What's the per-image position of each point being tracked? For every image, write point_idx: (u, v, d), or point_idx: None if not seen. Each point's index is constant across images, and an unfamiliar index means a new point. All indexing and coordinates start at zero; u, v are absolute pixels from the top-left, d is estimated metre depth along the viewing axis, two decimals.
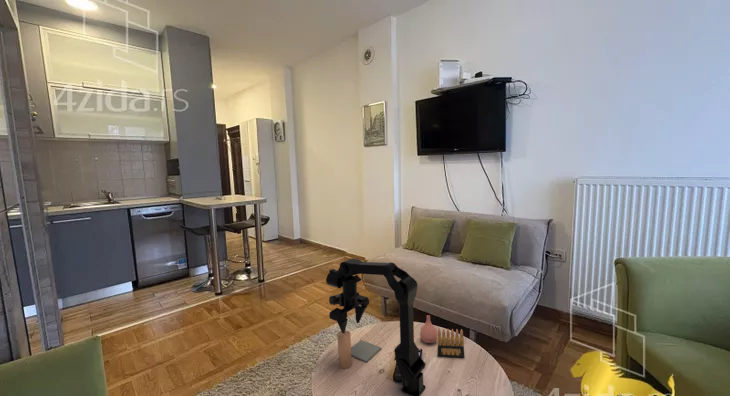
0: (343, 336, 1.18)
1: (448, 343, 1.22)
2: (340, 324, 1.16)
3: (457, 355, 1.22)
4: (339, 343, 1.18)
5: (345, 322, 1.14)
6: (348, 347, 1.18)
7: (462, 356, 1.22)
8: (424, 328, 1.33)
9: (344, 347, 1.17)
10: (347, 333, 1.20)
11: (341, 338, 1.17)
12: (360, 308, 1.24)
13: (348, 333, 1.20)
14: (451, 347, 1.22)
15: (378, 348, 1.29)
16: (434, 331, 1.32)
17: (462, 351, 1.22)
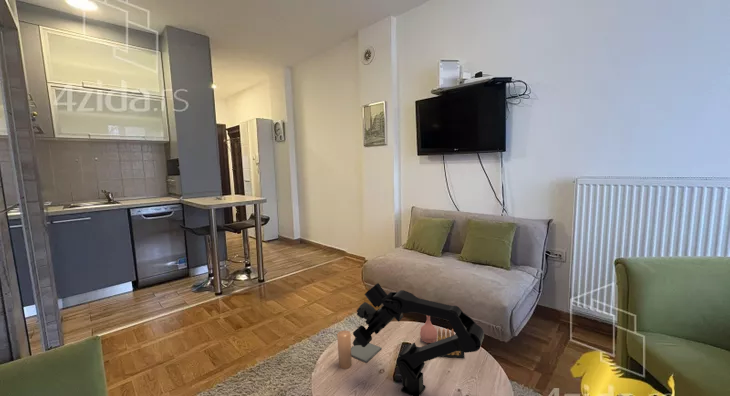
0: (343, 336, 1.18)
1: None
2: (357, 339, 1.09)
3: (457, 355, 1.22)
4: (339, 343, 1.18)
5: None
6: (348, 347, 1.18)
7: (462, 356, 1.22)
8: (424, 328, 1.33)
9: (344, 347, 1.17)
10: (347, 333, 1.20)
11: (341, 338, 1.17)
12: None
13: (348, 333, 1.20)
14: None
15: (378, 348, 1.29)
16: (434, 331, 1.32)
17: None
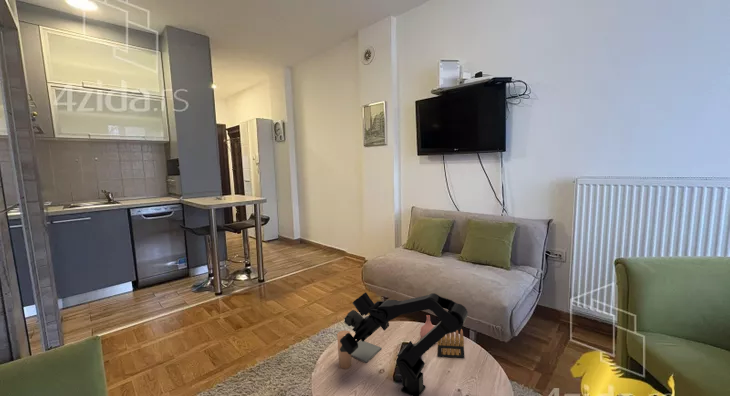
0: (343, 336, 1.18)
1: (448, 343, 1.22)
2: (344, 346, 1.13)
3: (457, 355, 1.22)
4: (339, 343, 1.18)
5: None
6: None
7: (462, 356, 1.22)
8: (424, 328, 1.33)
9: None
10: None
11: None
12: None
13: None
14: (451, 347, 1.22)
15: (378, 348, 1.29)
16: None
17: (462, 351, 1.22)
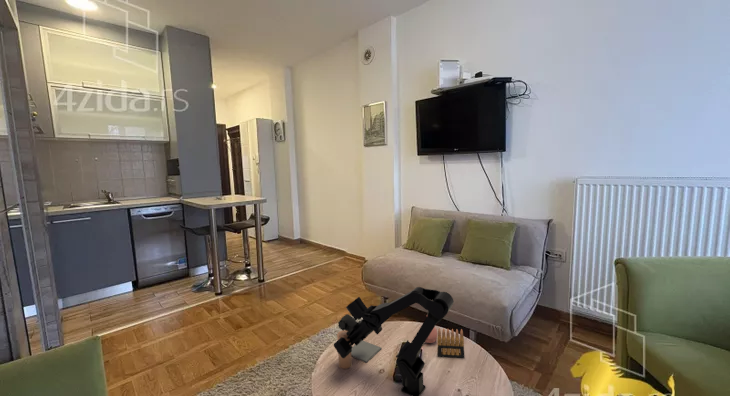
0: (343, 335, 1.18)
1: (448, 343, 1.22)
2: None
3: (457, 355, 1.22)
4: None
5: None
6: None
7: (462, 356, 1.22)
8: None
9: None
10: None
11: None
12: None
13: None
14: (451, 347, 1.22)
15: (378, 348, 1.29)
16: (434, 331, 1.32)
17: (462, 351, 1.22)
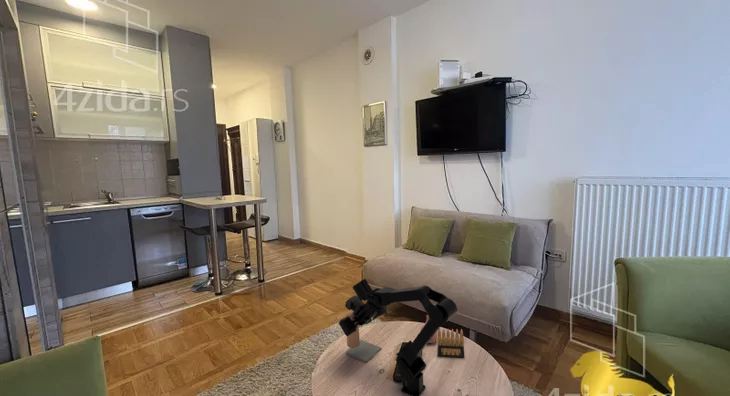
0: (351, 316, 1.22)
1: (448, 343, 1.22)
2: None
3: (457, 355, 1.22)
4: None
5: None
6: None
7: (462, 356, 1.22)
8: None
9: None
10: None
11: None
12: None
13: None
14: (451, 347, 1.22)
15: (378, 348, 1.29)
16: None
17: (462, 351, 1.22)
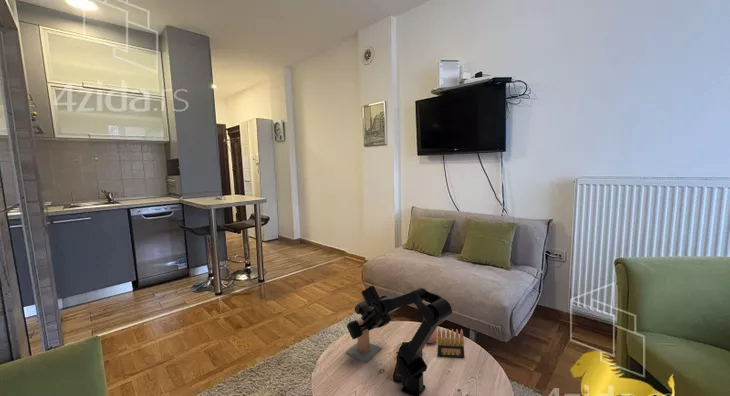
0: (361, 322, 1.26)
1: (448, 343, 1.22)
2: None
3: (457, 355, 1.22)
4: None
5: None
6: (365, 334, 1.26)
7: (462, 356, 1.22)
8: None
9: None
10: None
11: None
12: (377, 324, 1.28)
13: None
14: (451, 347, 1.22)
15: (378, 348, 1.29)
16: (434, 331, 1.32)
17: (462, 351, 1.22)
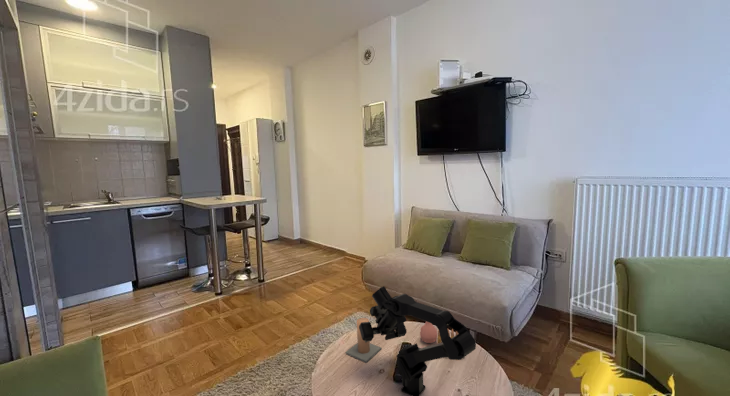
0: None
1: None
2: None
3: None
4: (357, 328, 1.27)
5: (368, 340, 1.13)
6: None
7: None
8: (424, 328, 1.33)
9: None
10: (366, 321, 1.27)
11: (359, 324, 1.26)
12: (393, 333, 1.19)
13: (367, 321, 1.27)
14: None
15: (378, 348, 1.29)
16: (434, 331, 1.32)
17: None
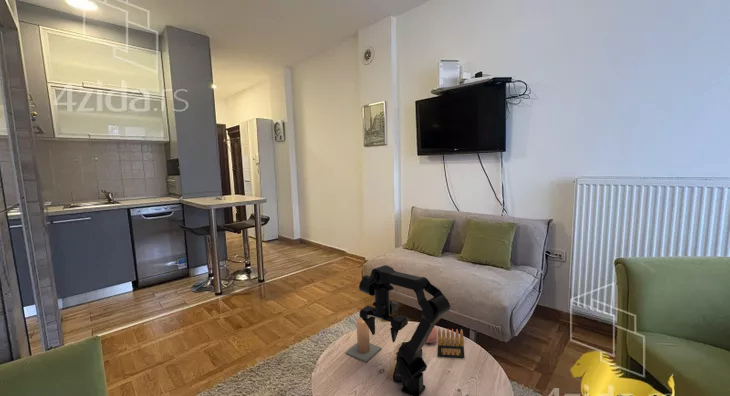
0: (361, 322, 1.26)
1: (448, 343, 1.22)
2: None
3: (457, 355, 1.22)
4: (357, 328, 1.27)
5: (366, 322, 1.16)
6: (365, 333, 1.26)
7: (462, 356, 1.22)
8: None
9: (361, 332, 1.26)
10: None
11: (358, 324, 1.26)
12: None
13: None
14: (451, 347, 1.22)
15: (378, 348, 1.29)
16: (434, 331, 1.32)
17: (462, 351, 1.22)
